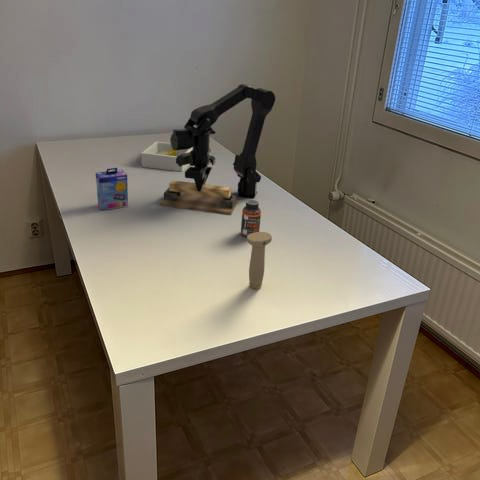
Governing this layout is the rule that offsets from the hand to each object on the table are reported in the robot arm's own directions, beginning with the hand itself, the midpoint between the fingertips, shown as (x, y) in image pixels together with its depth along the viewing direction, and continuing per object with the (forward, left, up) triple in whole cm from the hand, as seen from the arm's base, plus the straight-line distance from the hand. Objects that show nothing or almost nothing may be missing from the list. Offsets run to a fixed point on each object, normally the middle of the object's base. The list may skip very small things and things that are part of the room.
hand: (200, 189), depth 176 cm
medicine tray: (+25, -39, -5) cm, 47 cm away
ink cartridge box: (+28, +12, -6) cm, 31 cm away
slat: (0, 0, -1) cm, 1 cm away
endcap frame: (0, 0, -5) cm, 5 cm away
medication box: (+28, -41, -6) cm, 50 cm away
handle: (-29, +49, -6) cm, 57 cm away
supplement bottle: (-22, +19, -6) cm, 30 cm away
